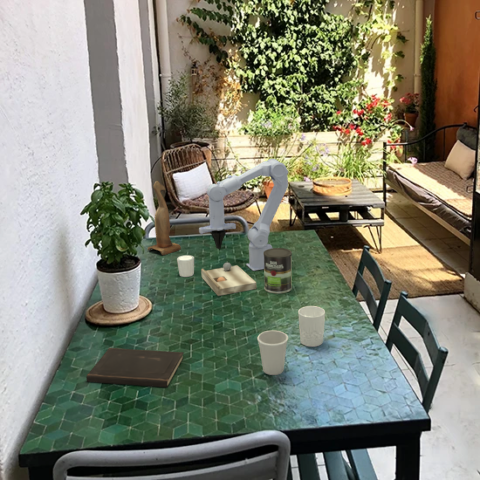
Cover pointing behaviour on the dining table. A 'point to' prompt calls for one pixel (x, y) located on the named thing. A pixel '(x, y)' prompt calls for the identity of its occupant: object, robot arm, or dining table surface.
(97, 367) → the hardcover book
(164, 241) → the bird sculpture
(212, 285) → the light wood flat tray
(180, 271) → the white tapered cylinder
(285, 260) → the coffee can
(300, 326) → the white cup
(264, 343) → the dixie cup
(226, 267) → the grey ball
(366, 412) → the dining table surface
